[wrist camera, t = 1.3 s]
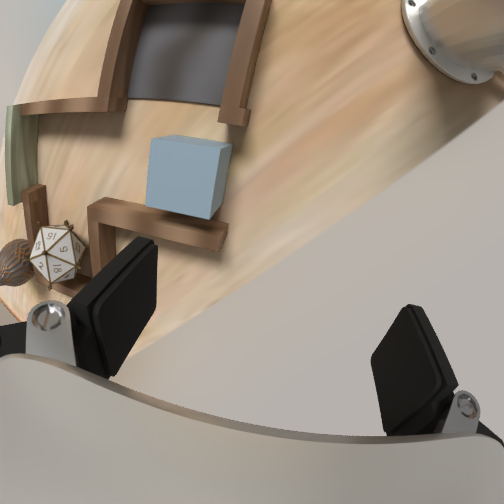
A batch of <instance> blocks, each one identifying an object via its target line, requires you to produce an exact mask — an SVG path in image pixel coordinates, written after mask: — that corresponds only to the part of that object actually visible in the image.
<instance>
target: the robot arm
mask: <svg viewBox="0 0 504 504" xmlns="http://www.w3.org/2000/svg"><path fill="white" fill-rule="evenodd" d="M401 6H402V15H403V19H404V23H405V25H406V28H407V30H408V32H409V34H410V36H411V38H412V39H413V41H414V43H415V45H416V46H417V47H418V49H419V50H420V51H421V53H422V54H423V55H424V56H425V57H426V58H427V59H428V60H429V62H430V63H431V64H433V65H434V66H435V67H436V68H437V69H438V70H439V71H441V72H442V73H444V74H445V75H447V76H448V77H450V78H452V79H454V80H456V81H458V82H462V83H465V84H480V83H484V82H486V81H488V80H489V79H490V78H492V77H493V75H494V73H495V72H496V71H500V72H501V73H503V74H504V0H402V4H401ZM429 51H430V52H429ZM157 260H158V246H157V245H154V241H153V240H151V239H147V238H144V237H140V236H138V237H136V238H135V239H134V240H133V241H132V242H131V243H130V244H129V245H127V246H126V247H125V248H124V249H123V250H122V251H121V252H120V253H119V254H118V255H116V256H115V257H114V258H113V259H112V260H111V261H110V262H109V263H108V264H107V265H106V266H105V267H104V268H103V269H102V270H101V271H100V272H98V273H97V274H96V275H95V276H94V277H93V278H92V279H91V280H90V281H89V282H88V283H87V284H86V285H85V286H84V287H83V288H82V289H81V290H80V291H79V292H78V293H77V294H76V295H75V296H74V297H73V298H72V299H71V301H70V302H69V303H68V304H67V305H65V304H63V303H62V302H59V301H55V300H48V301H44V302H41V303H39V304H37V305H36V306H34V307H33V308H32V309H31V311H30V312H29V314H28V318H27V321H26V322H20V323H15V324H9V325H4V326H0V504H504V443H503V441H502V440H501V439H500V438H499V437H498V436H497V435H495V434H494V433H493V432H492V431H491V430H489V429H488V428H487V427H486V426H485V425H483V424H482V423H481V422H480V421H479V418H480V407H479V404H478V402H477V400H476V399H475V397H474V396H473V395H472V394H471V393H469V392H467V391H463V390H462V391H458V392H457V393H456V394H455V395H454V393H453V391H454V389H456V387H457V386H458V382H457V379H456V377H455V375H454V372H453V370H452V368H451V365H450V363H449V361H448V359H447V357H446V354H445V352H444V350H443V348H442V346H441V344H440V341H439V339H438V337H437V336H436V333H435V331H434V329H433V327H432V326H431V323H430V321H429V319H428V317H427V316H426V314H425V312H424V310H423V308H422V307H420V306H416V305H411V304H408V305H407V306H406V307H403V308H402V309H401V311H400V312H399V314H398V316H397V317H396V319H395V320H394V323H393V324H392V325H391V327H390V329H389V330H388V332H387V333H386V335H385V336H384V338H383V340H382V341H381V342H380V344H379V345H378V347H377V348H376V350H375V351H374V353H373V354H372V357H371V367H372V371H373V376H374V380H375V385H376V391H377V395H378V401H379V407H380V412H381V418H382V424H383V429H384V432H386V434H387V436H342V435H328V434H316V433H305V432H297V431H290V430H283V429H276V428H270V427H264V426H259V425H253V424H248V423H244V422H238V421H234V420H230V419H225V418H221V417H217V416H213V415H209V414H205V413H202V412H198V411H195V410H191V409H187V408H184V407H181V406H178V405H175V404H172V403H169V402H166V401H163V400H159V399H157V398H154V397H151V396H148V395H146V394H143V393H140V392H137V391H135V390H132V389H129V388H127V387H124V386H122V385H119V384H117V383H114V382H112V381H110V380H108V379H109V377H110V376H113V377H114V376H115V375H116V374H117V372H118V370H119V369H120V367H121V365H122V364H123V362H124V360H125V359H126V357H127V355H128V354H129V352H130V350H131V349H132V347H133V345H134V344H135V342H136V341H137V339H138V337H139V336H140V334H141V332H142V331H143V329H144V328H145V326H146V324H147V323H148V321H149V320H150V318H151V316H152V315H153V313H154V311H155V308H156V298H157Z"/></svg>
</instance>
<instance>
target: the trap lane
mask: <svg viewBox="0 0 504 504" xmlns="http://www.w3.org/2000/svg"><path fill="white" fill-rule="evenodd" d="M271 1H272V0H121V1H120V4H119V7H118V10H117V13H116V16H115V19H114V23H113V26H112V30H111V33H110V37H109V41H108V45H107V49H106V54H105V58H104V63H103V67H102V73H101V78H100V84H99V90H98V96H97V97H87V98H70V99H58V100H48V101H40V102H32V103H25V104H19V105H12V106H8V107H7V115H6V131H5V171H6V188H7V199H8V205H12V206H15V205H16V204H18V203H20V202H22V203H23V207H24V216H25V224H26V231H27V237H28V243H29V249H30V254H31V251H32V248H33V245H34V242H35V240H36V237H37V234H38V231H39V229H40V227H39V226H38V225H37V224H38V223H37V221H39V222H41V225H42V226H49V223H48V213H47V200H46V185H41V184H37V136H38V120H39V114H45V113H63V112H119V111H126V107H127V101H128V98H151V99H167V100H179V101H189V102H198V103H207V104H214V105H221V107H220V112H219V117H218V122H220V123H226V124H232V125H238V126H248V122H249V117H250V113H251V110H248V109H246V105H247V101H248V96H249V92H250V87H251V83H252V78H253V74H254V69H255V65H256V61H257V57H258V52H259V48H260V44H261V40H262V36H263V32H264V28H265V24H266V20H267V16H268V12H269V8H270V4H271ZM87 215H88V234H89V247H90V258H91V267H92V275H93V277H94V276H95V275H96V274H97V273H98V272H100V271H101V270H102V269H103V268H104V267H105V266H106V265H107V264H108V263H109V262H110V261H111V260H112V259H113V258H114V257H115V256H116V249H115V227H119V228H123V229H127V230H131V231H135V232H139V233H143V234H147V235H151V236H155V237H159V238H163V239H167V240H171V241H175V242H179V243H183V244H187V245H192V246H196V247H200V248H204V249H208V250H212V251H216V252H218V251H219V250H220V248H221V246H222V244H223V242H224V240H225V238H226V234H227V229H228V224H227V223H223V222H218V221H214V220H210V219H209V220H208V219H204V218H199V217H195V216H190V215H186V214H181V213H176V212H172V211H167V210H162V209H158V208H153V207H148V206H146V205H141V204H137V203H132V202H127V201H122V200H118V199H113V198H108V197H104V198H102V199H100V200H98V201H96V202H95V203H93V204H91V205H89V206H87ZM33 268H34V273H35V277H36V281H37V282H39V283H41V284H43V285H45V286H48V287H49V284H50V283H49V282H48V281H47V280H46V279H45V278H44V277H43V276H42V275H41V274H40V272H39V271H38V270H37V269H36V268H35V267H34V266H33ZM75 278H77V279H78V283H77V282H75V281H74V279H70V280H66V281H62V282H58V283H54V284H52V289H54V290H56V291H58V292H61V293H63V294H65V295H67V296H70V297H72V298H73V297H74V296H75V295H76V294H77V293H78V292H79V291H80V290H81V289H82V288H83V287H84V286H85V285H86V284H87V283H88V282H89V281H90V280H91V278H89V277H86V276H83V275H81V274H78V273H77V274H76V277H75Z"/></svg>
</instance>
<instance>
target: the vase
mask: <svg viewBox="0 0 504 504" xmlns="http://www.w3.org/2000/svg"><path fill="white" fill-rule="evenodd" d="M29 257H30V249H29V243H28V241H27V240H25V239H16V240H13V241H11V242H9V243H8V244H6V245H5V246H4V247H3V249H2V250H1V251H0V286H3V285H7V286H20V285H23V284H25V283H26V282H28V281H29V280H30V279H31V278H32V277H33V275H34V274H35V273H34V268H33V264H32V263H31V262H30V261H28V262H24V261H23V260H24V259H25V258H29Z"/></svg>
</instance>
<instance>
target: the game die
mask: <svg viewBox="0 0 504 504" xmlns="http://www.w3.org/2000/svg"><path fill="white" fill-rule="evenodd" d="M37 223H38V224H37V225H38V226H39V227H40V229H39V231H38V234H37V237H36V240H35V242H34V245H33V248H32V251H31V254H30V257H29V258H25V259H24V260H23V261H24V262H28V261H30V262H31V263H32V264H33V266H34V267H35V268H36V269H37V270H38V271H39V272H40V274H41V275H42V276H43V277H44V278H45V279H46V280H47V281H48V282H49V283H50V284H49V287H48V288H49V291H50V290H51V289H52V284H54V283H58V282H62V281H66V280H70V279H74V281H75V282H77V283H78V279H77V278H75V277H76V274H77V271H78V270H79V269H81V266H80V263H81V260H82V257H83V255H84V252H85V250H86V249H90V247H89V245H87V246H85V245H84V244H83V243H82V242H81V241H80V239H79V238H78V237H77V236H76V235H75V234H74V233H73V231H72V230H73V228H74V227H73V225H70V227H69V228H68V227H67V226H66V225H67V223H68V222H67V220H66V221H64V225H52V226H42V225H41V222H39V221H37Z"/></svg>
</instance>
